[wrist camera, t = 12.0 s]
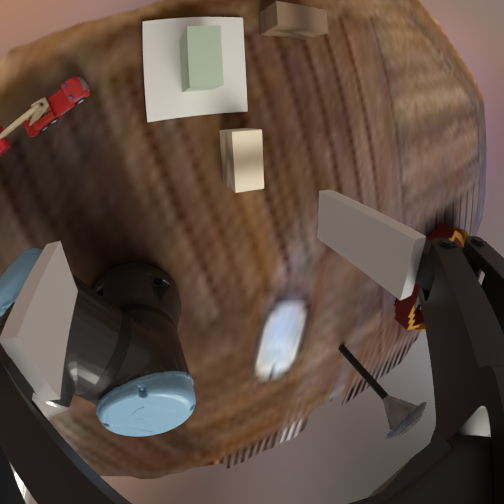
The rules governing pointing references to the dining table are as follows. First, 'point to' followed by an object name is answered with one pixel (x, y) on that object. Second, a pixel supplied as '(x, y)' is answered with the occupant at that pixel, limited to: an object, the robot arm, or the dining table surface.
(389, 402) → the solar garden light
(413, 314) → the decorative basket
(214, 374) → the dining table surface
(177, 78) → the grey plate
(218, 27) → the sage brick
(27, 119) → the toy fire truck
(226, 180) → the birch brick
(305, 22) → the walnut brick
